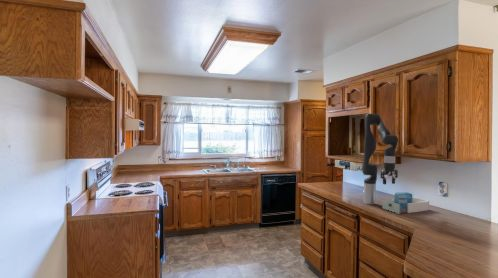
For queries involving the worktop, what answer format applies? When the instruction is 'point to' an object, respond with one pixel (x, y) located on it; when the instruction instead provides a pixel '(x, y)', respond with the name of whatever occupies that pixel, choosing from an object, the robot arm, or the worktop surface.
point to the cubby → (417, 205)
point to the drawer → (393, 207)
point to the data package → (403, 199)
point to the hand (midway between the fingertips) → (389, 184)
